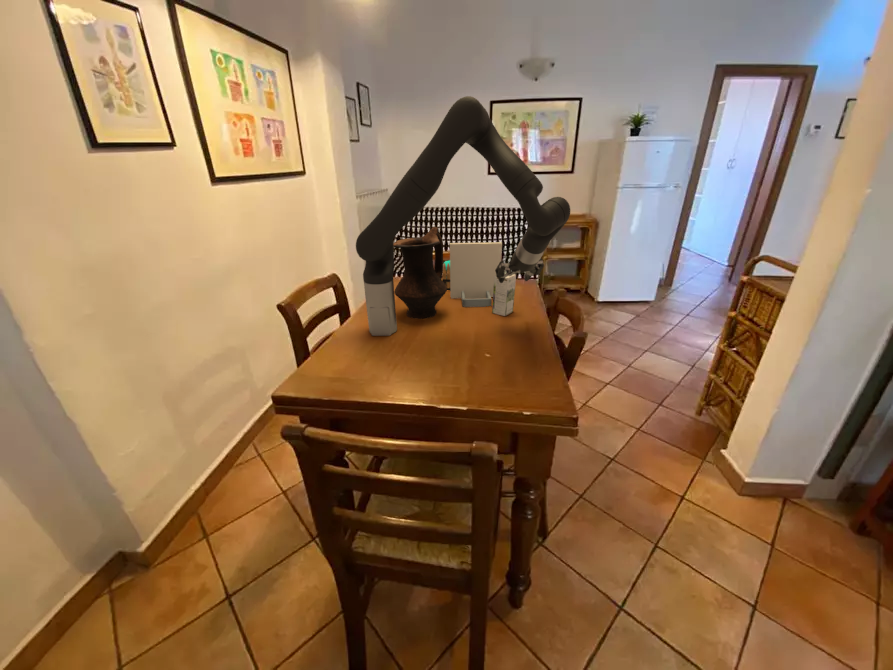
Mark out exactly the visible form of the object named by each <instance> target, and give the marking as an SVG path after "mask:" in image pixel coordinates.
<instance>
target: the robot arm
mask: <svg viewBox="0 0 893 670" xmlns="http://www.w3.org/2000/svg"><path fill="white" fill-rule="evenodd" d="M465 144H467V145H469V146H470V147H471V148H473V149H474V150H475V151H476V152H477V153H478V154H479V155H481V156H482V157H483V158H484V160H485V161H487V163H488V164H489V165H490V166H491V168H492V170H493V171H494V173H495V174H496V176H497V178H498V179H499V180H500V182H501V183H502V185H503V186H504V187H505V188H506V189H507V191H508V192H509V193H510V194H511V195H512V197H514V199H515V200H516V201H517V202H518V204H519V206H520V208H521V209H520V210H521V211H522V214H524V215H523V216H524V217H525V219H526V222H527V224H528V228H527V230H526V231H525V233H524V234H523V237H522V238H521V240H520V241H519V243H518V244H517V247H516V248H515V250H514V253H513V254H512V257H511V260H510V261H508V262H507V263H505V262H504V261H503V260H501V262H500V263H499V265H498V266H497V268H496V270H495V272H496V277H497V278H498V279H499V282H500V283H503V281H504V279H505V277H507V276H512V275H513V274H515V275H516V274H520V273H521V274H524V273H525V274H524V275H523V278H524V279H523V280H524V282H528V281H529V280H530V279H531V278H532V277H534V275H536V276H538V275H540V274H541V272H542V270H543V269H544V267H545V264H544V260H543V258H542V257H543V256H544V252H545V250H546V249H547V247H548V246H549V244H550V243H551V241H552V239H553V238H554V237H555V236H556V235H557V234H558V233H559V232H560V231H561V229H562V228H563V227H564V226H565V225H566V224H567V222H568V221H569V219H570V215H571V206H570V203H569V201H568V200H567V199H565V198H564V197H561V196H554V197H551V198H549V199H548V200H546V201H545V202H543V203H542V204H540V202H539V199H538V197H539V196H540V195H541V193H542V192H543V190H544V189H543V188H544V185H543V183H542V182H541V181H540V179H539V178H538V177H537V176H536V175H535V173H534V172H533V171H532V169H531V168H530V167H529V166H528V165H527V164H526V163H525V162H524V161H523V160H522V158H520V156H518V154H517V153H516V152H514V151H513V150H512V149H511V148H510V146H509V145H508V144H507V142H506V141H505V140H504V139H503V138H502V136H501V135H500V133H499V131H498V130H497V128H496V126H495V125H494V123H493V122H492V120H491V117H490V116H489V112H488V111H487V109H486V107H484V106H483V105H482V103H481V102H480V101H479V100H478V99H477V98H476V97H473V96H471V95H470V96H468V95H467V96H463V97H461V98H458V100H456V101H455V102H454V103H453V104H452V106H451V107H450V108H449V110H448V112H447V113H446V115H445V116H444V118H443V120H442V121H441V123H440V125H439V127H438V128H437V130H436V132H435V133H434V135H433V136H432V137H431V139H430V141H429V142H428V144H427V145H426V147H425V148H424V149H423V151H422V152H421V153H420V154H419V156H418V157H417V158H416V160H415V161H414V162H413V164H412V165H411V166H410V168H408V170H407V172H406V173H405V174H404V175H403V177H401V180H400V181H399V182H398V183H397V185H396V187H395V188H394V190H393V191H392V193H391V194H390V196H389V197H388V199H387V200H386V202H385V204H384V205H383V206H382V208H381V210H380V211H379V213H378V214H377V215H376V216H375V217H374V219H372V221H371V222H370V223H369V224H368V225H367V226H366V227H365V228H364V229H363V230H362V232H360V233H359V234H358V236H357V239H356V241H355V251H356V253H357V255H358V257H359V258H360V259H362V260H364V261H365V266H364V270H363V274H362V278H363V279H362V280H363V288H364V296H365V297H364V298H365V306H366V313H367V315H366V316H367V322H368V331H369V333H370V334H371V336H376V337H377V336H378V337H379V336H384V337H385V336H392V334H394V333H396V332H397V331H398V325H397V324H398V322H397V311H396V309H397V308H396V299H395V298H396V297H395V296H396V295H395V284H394V270H395V256H394V255H395V254H394V253H395V251H394V246H393V244H394V241H393V240H394V239H395V237H396V235H398V233H399V232H400V231H401V230H402V229H403V228H404V227H405V226H406V225H407V224H408V223H409V222H410V221H411V220H413V219H414V218H415V217H416V215H418V214H419V213H420V212H421V211H422V210H423V209H424V208H425V207H426V205H427V204H428V203H429V202H430V200H431V199H432V198H433V196H434V195H435V194H436V193H437V191H438V189H440V186H441V184H442V182H443V179H444V176H445V173H446V171H447V169H448V166H449V164H450V163H451V161H452V159H453V158H454V157H455V155H456V154H457V153H458V152H459V150H460V149H461V148H462V147H463V146H464V145H465ZM505 272H506V274H505Z"/></svg>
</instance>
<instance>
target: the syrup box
mask: <svg viewBox="0 0 893 670" xmlns="http://www.w3.org/2000/svg"><path fill="white" fill-rule="evenodd" d="M505 274H506V271H505ZM516 280H517V274H516V273H515V274H513V275H512V276H507V277H505V279H504V281H503V283H500V282H499V279H498V278H497V277H496V275H495V276H494V289H493V298H492V305H491V307H492V309H491V310H492V311H491V313H492V314H496V315H499V316H503V317H506V316H508V315H510V314H512V313H513V312H514V307H515V306H514V303H515V293H516V292H515V291H516V282H517V281H516Z"/></svg>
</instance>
